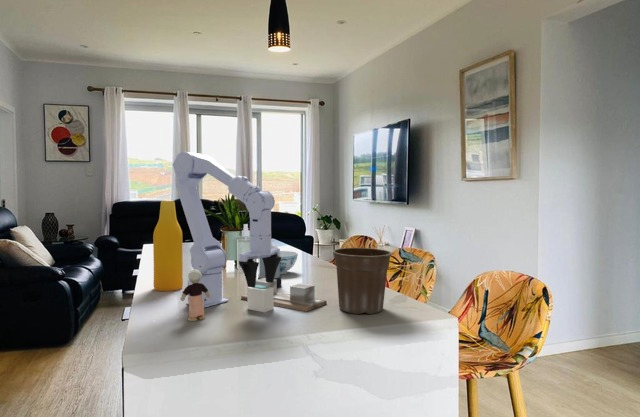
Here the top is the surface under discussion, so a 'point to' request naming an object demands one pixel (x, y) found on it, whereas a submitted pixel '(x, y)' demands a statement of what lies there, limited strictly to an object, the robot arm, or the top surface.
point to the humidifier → (262, 270)
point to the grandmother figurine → (195, 296)
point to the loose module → (260, 298)
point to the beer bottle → (168, 250)
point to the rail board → (293, 296)
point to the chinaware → (287, 261)
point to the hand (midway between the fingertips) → (260, 284)
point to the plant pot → (361, 279)
